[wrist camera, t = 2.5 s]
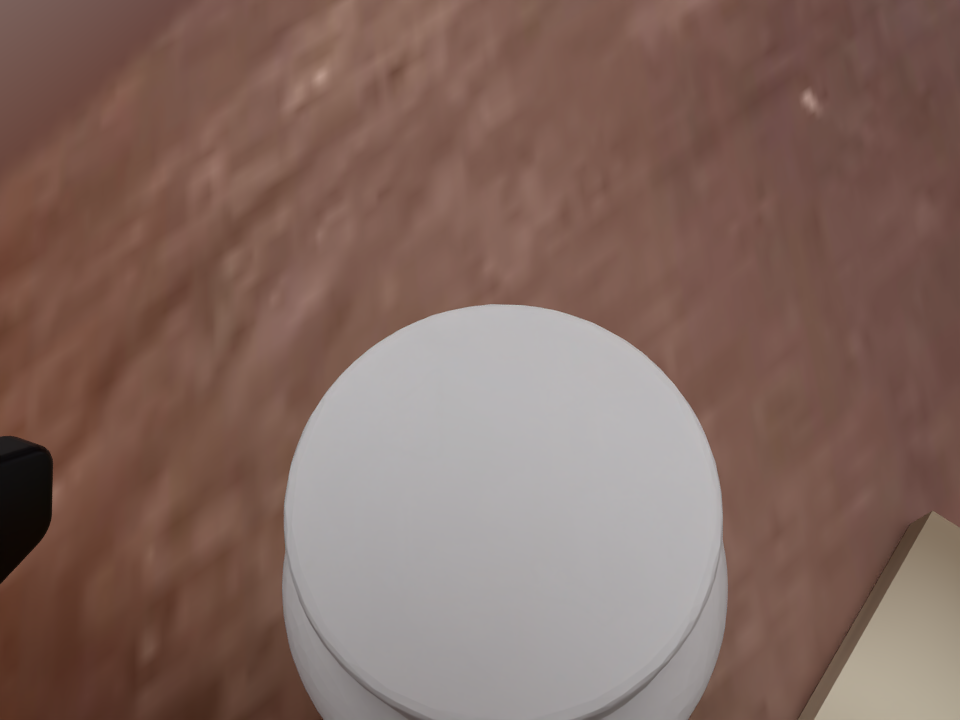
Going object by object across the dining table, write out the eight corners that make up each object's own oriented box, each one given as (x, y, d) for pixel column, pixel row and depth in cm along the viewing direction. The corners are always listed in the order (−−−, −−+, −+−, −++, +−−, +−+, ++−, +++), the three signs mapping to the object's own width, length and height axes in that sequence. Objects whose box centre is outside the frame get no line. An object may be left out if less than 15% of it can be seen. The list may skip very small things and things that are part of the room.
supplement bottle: (368, 514, 17) (221, 258, 9) (625, 495, 17) (738, 219, 9) (370, 806, 15) (167, 866, 6) (667, 784, 15) (885, 811, 6)
